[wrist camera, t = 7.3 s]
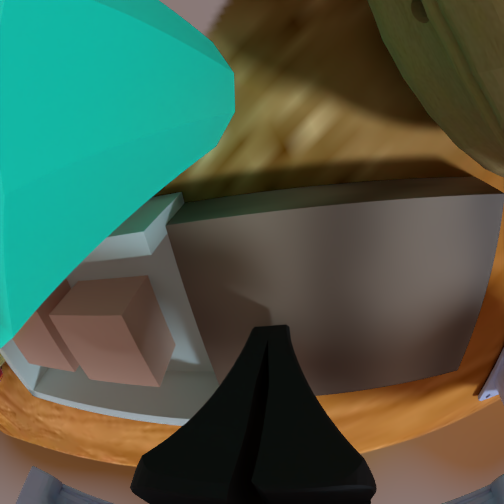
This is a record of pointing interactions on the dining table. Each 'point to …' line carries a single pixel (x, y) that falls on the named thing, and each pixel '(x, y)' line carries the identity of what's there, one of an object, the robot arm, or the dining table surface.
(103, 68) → the candle
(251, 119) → the dining table surface
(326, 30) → the dining table surface
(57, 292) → the tile
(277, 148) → the dining table surface
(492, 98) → the pot
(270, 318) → the grey slab
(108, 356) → the tile
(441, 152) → the dining table surface
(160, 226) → the tray
